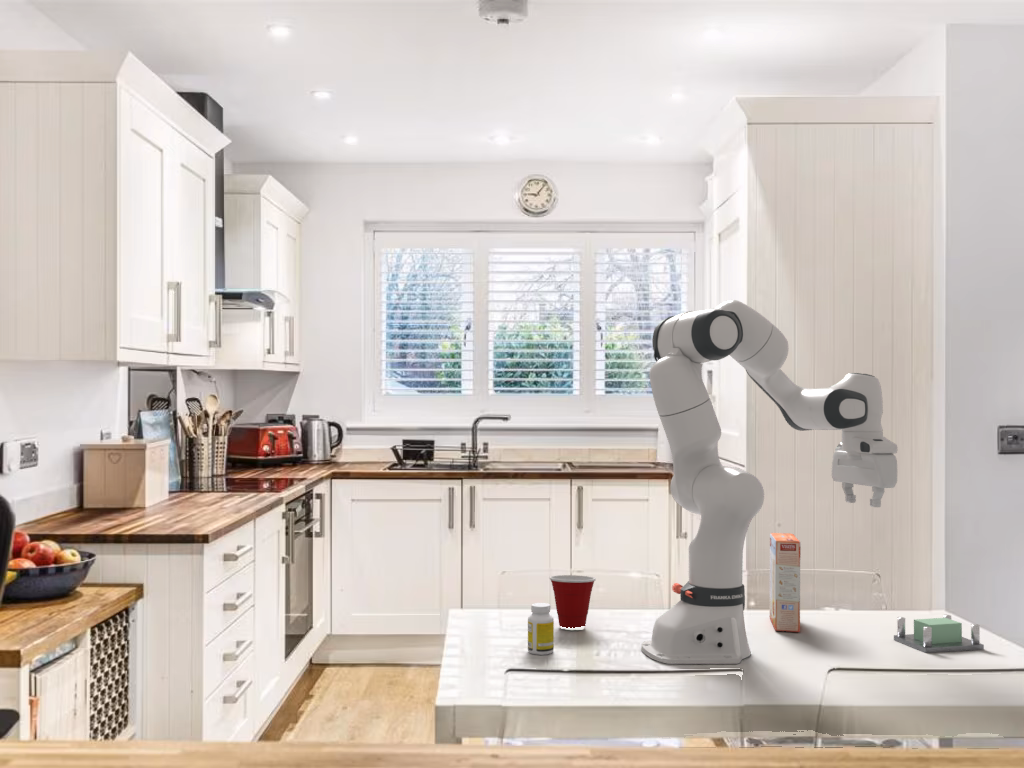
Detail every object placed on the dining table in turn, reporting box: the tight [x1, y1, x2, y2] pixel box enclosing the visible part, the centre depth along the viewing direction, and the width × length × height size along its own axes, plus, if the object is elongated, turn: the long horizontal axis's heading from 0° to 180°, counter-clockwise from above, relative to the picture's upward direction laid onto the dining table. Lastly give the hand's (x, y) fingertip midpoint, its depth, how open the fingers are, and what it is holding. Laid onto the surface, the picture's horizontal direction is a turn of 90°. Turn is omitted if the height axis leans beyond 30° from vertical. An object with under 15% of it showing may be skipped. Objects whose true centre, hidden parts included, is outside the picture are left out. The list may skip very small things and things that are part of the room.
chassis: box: [893, 614, 985, 654], centre depth 190 cm, size 14×11×5 cm
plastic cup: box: [548, 574, 597, 628], centre depth 203 cm, size 11×11×12 cm
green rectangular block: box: [913, 617, 963, 644], centre depth 190 cm, size 8×5×4 cm, turn 103°
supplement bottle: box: [527, 602, 555, 656], centre depth 183 cm, size 5×5×10 cm
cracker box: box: [769, 532, 802, 633], centre depth 207 cm, size 14×6×21 cm, turn 168°
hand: (862, 504), depth 200 cm, fingers open, 8 cm apart
